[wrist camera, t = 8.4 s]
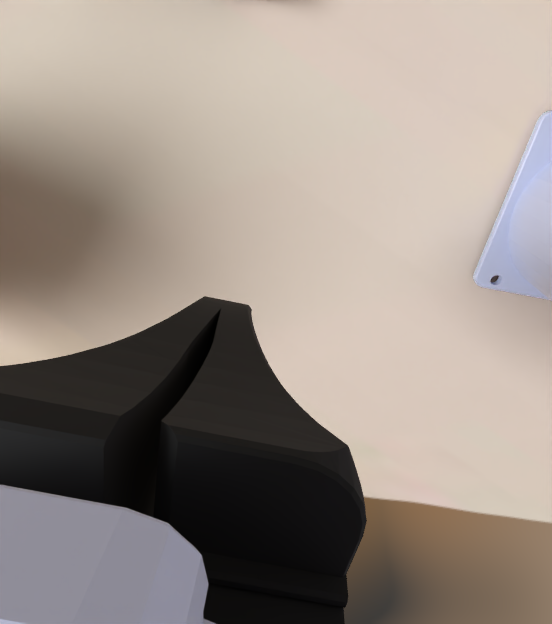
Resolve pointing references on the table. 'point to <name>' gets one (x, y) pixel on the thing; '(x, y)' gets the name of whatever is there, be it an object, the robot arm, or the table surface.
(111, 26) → the table surface
